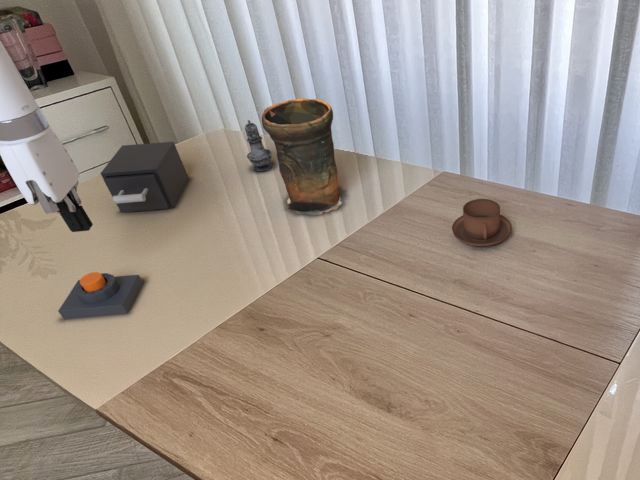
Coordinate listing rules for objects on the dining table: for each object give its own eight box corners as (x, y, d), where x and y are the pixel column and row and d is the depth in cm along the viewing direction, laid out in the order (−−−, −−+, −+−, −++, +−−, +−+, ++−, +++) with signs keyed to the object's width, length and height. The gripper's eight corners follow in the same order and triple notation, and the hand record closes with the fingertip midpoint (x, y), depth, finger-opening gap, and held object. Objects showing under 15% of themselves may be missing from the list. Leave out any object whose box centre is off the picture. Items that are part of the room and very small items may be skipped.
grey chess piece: (246, 172, 135) (230, 124, 126) (258, 161, 139) (243, 113, 130) (268, 174, 134) (253, 125, 125) (279, 163, 138) (265, 115, 129)
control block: (64, 320, 97) (51, 303, 94) (84, 288, 103) (72, 271, 101) (128, 314, 98) (117, 297, 95) (144, 283, 104) (134, 266, 101)
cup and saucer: (522, 241, 110) (523, 214, 105) (468, 258, 106) (467, 231, 102) (494, 213, 117) (494, 187, 113) (443, 228, 114) (441, 201, 110)
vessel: (357, 185, 128) (340, 97, 114) (338, 218, 118) (318, 125, 104) (299, 183, 130) (275, 95, 116) (275, 214, 120) (247, 123, 106)
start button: (81, 293, 97) (76, 285, 95) (89, 280, 99) (84, 273, 98) (102, 291, 97) (97, 283, 96) (109, 279, 99) (104, 271, 98)
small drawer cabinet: (174, 209, 123) (156, 168, 117) (121, 213, 123) (100, 173, 116) (189, 180, 133) (173, 141, 126) (140, 183, 132) (121, 145, 126)
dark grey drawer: (163, 218, 119) (147, 185, 113) (114, 222, 118) (95, 189, 113) (183, 181, 131) (169, 149, 125) (138, 184, 130) (123, 153, 125)
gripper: (15, 108, 89) (77, 209, 101) (-34, 148, 78) (42, 255, 91) (63, 104, 89) (118, 205, 102) (21, 143, 78) (89, 250, 91)
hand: (82, 228), depth 96 cm, fingers closed
